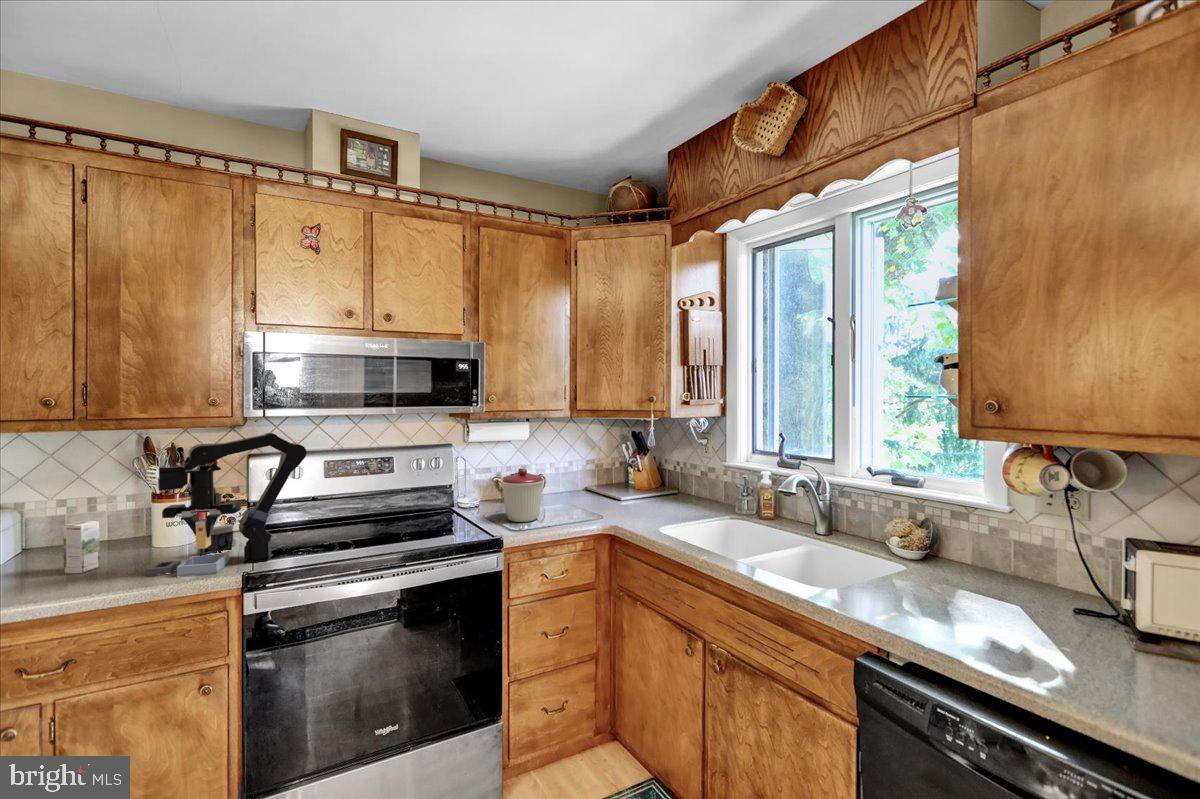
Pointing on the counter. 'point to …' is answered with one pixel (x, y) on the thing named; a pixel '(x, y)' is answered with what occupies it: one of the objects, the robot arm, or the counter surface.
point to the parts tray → (203, 565)
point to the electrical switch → (219, 540)
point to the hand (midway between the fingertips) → (203, 537)
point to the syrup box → (81, 546)
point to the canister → (522, 496)
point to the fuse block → (163, 567)
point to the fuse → (202, 535)
